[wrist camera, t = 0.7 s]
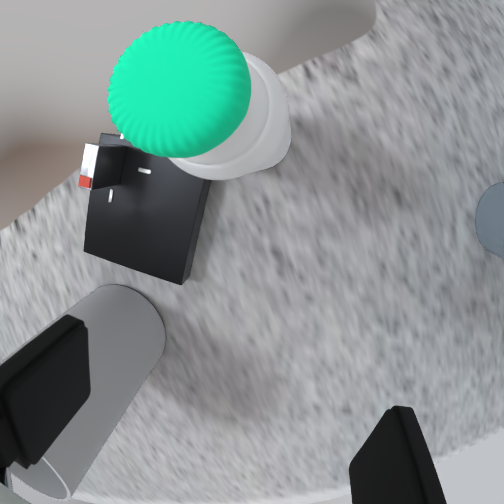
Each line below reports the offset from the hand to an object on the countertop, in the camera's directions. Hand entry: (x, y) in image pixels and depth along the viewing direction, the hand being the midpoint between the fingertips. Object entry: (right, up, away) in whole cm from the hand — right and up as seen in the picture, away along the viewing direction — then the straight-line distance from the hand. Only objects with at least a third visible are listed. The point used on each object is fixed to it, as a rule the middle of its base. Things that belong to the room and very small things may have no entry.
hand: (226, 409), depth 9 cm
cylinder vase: (-16, -5, +32) cm, 36 cm away
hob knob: (-14, +14, +23) cm, 30 cm away
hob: (-11, +10, +27) cm, 31 cm away
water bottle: (+1, +16, +24) cm, 29 cm away
